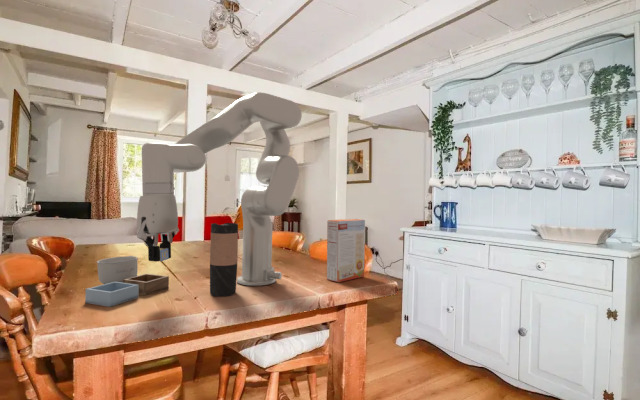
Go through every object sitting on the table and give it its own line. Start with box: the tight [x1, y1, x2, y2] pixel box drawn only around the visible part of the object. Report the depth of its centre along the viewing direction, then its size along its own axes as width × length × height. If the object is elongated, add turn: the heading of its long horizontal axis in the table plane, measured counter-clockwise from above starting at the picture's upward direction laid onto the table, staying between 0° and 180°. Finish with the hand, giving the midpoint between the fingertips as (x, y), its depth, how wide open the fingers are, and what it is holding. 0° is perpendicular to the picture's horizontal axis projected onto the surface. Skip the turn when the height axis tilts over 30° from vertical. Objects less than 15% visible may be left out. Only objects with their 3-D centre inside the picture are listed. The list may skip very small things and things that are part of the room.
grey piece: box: [96, 255, 139, 285], centre depth 106 cm, size 14×11×8 cm
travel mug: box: [209, 222, 239, 298], centre depth 98 cm, size 8×8×20 cm
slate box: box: [84, 282, 139, 308], centre depth 89 cm, size 8×8×4 cm
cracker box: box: [326, 218, 366, 283], centre depth 120 cm, size 14×6×21 cm, turn 133°
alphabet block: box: [159, 248, 170, 262], centre depth 90 cm, size 3×3×3 cm
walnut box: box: [123, 273, 170, 296], centre depth 99 cm, size 8×8×4 cm
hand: (159, 258), depth 90 cm, fingers closed on alphabet block, 3 cm apart
